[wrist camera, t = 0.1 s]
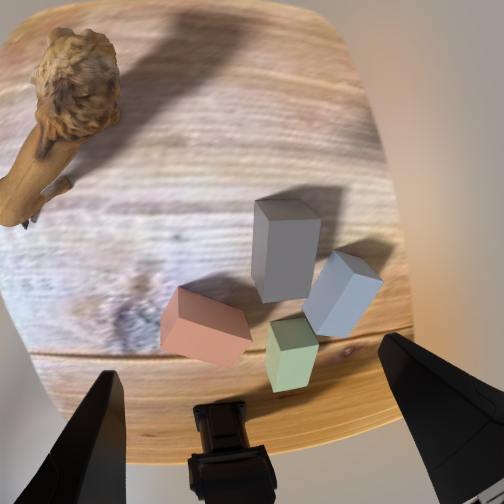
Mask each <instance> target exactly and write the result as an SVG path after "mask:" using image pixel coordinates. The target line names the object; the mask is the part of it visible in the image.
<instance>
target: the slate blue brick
mask: <svg viewBox="0 0 504 504" xmlns="http://www.w3.org/2000/svg"><path fill="white" fill-rule="evenodd" d="M383 283H384V281H383V280H382V279H381V278H380V277H379V276H378V275H377V273H376V272H375V271H374V270H373V269H372V268H371V267H370V266H369V265H368V264H367V263H366V262H365V261H364V260H363V259H362V258H359V257H355V256H352V255H349V254H346V253H343V252H340V251H337V250H333V251H332V253H331V254H330V256H329V258H328V260H327V262H326V264H325V265H324V267H323V269H322V271H321V273H320V275H319V276H318V278H317V280H316V282H315V284H314V285H313V287H312V289H311V291H310V294H309V298H306V299H305V301H304V303H303V305H302V306H301V308H302V310H303V311H304V313H305V315H306V317H307V319H308V321H309V323H310V324H311V326H312V328H313V330H314V332H315V334H316V335H323V336H333V337H342V338H347V337H348V335H349V334H350V333H351V331H352V330H353V328H354V327H355V325H356V324H357V323H358V321H359V320H360V318H361V317H362V315H363V314H364V312H365V311H366V309H367V308H368V306H369V305H370V303H371V302H372V300H373V299H374V297H375V295H376V294H377V292H378V291H379V289H380V287H381V286H382V284H383Z"/></svg>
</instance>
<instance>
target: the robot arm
mask: <svg viewBox="0 0 504 504" xmlns="http://www.w3.org/2000/svg"><path fill="white" fill-rule="evenodd" d="M378 356H379V359H380V362H381V364H382V367H383V370H384V372H385V375H386V378H387V381H388V384H389V386H390V389H391V391H392V393H393V395H394V398H395V400H396V402H397V404H398V406H399V408H400V410H401V412H402V415H403V417H404V419H405V421H406V423H407V425H408V427H409V430H410V432H411V434H412V437H413V439H414V441H415V444H416V446H417V448H418V450H419V453H420V455H421V457H422V460H423V462H424V465H425V467H426V469H427V472H428V473H429V474H428V475H429V477H430V480H431V482H432V484H433V487H434V489H435V492H436V495H437V497H438V500H439V503H440V504H463V503H464V502H466V501H468V500H470V499H472V498H473V497H475V496H477V498H476V499H475V500H474V501H473V502H471V503H470V504H504V392H503V391H501V390H498V389H496V388H494V387H492V386H490V385H488V384H486V383H484V382H482V381H481V380H479V379H477V378H475V377H473V376H472V375H469V374H468V373H466V372H465V371H463V370H461V369H459V368H458V367H456V366H454V365H452V364H451V363H449V362H447V361H445V360H444V359H442V358H440V357H438V356H437V355H435V354H433V353H431V352H430V351H428V350H426V349H424V348H423V347H421V346H419V345H417V344H416V343H414V342H412V341H410V340H409V339H407V338H405V337H403V336H402V335H400V334H398V333H396V332H392V333H388V334H386V335H385V336H384V337H383V340H382V342H381V344H380V347H379V349H378ZM193 413H194V417H195V422H196V426H197V431H198V432H200V435H201V441H202V448H203V453H202V454H196V453H194V454H192V457H191V458H189V459H187V460H188V466H189V482H190V489H191V490H192V491H193V492H195V493H196V495H197V496H198V499H199V501H202V500H205V504H274V502H275V499H276V495H275V492H274V490H276V489H277V480H276V476H275V472H274V469H273V466H272V464H271V461H270V459H269V456H268V454H267V452H266V449H265V447H264V445H259V446H256V447H250V444H249V440H248V436H247V432H246V429H245V413H246V404H245V402H235V403H227V404H218V405H209V406H198V407H194V408H193ZM14 504H126V423H125V407H124V390H123V386H122V383H121V381H120V379H119V376H118V374H117V372H116V371H115V370H104V371H102V372H101V374H100V375H99V377H98V378H97V380H96V381H95V382H94V384H93V385H92V387H91V388H90V390H89V391H88V393H87V394H86V396H85V397H84V399H83V400H82V402H81V403H80V405H79V406H78V408H77V409H76V411H75V413H74V414H73V416H72V417H71V419H70V420H69V422H68V423H67V425H66V426H65V428H64V430H63V431H62V433H61V434H60V436H59V438H58V439H57V441H56V442H55V444H54V446H53V447H52V449H51V451H50V453H49V454H48V455H47V457H46V459H45V460H44V462H43V463H42V465H41V467H40V468H39V470H38V471H37V473H36V474H35V476H34V477H33V478H32V480H31V481H30V483H29V484H28V485H27V487H26V488H25V489H24V490H23V492H22V493H21V494H20V496H19V497H18V498H17V500H16V501H15V502H14Z"/></svg>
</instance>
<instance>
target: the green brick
mask: <svg viewBox="0 0 504 504" xmlns="http://www.w3.org/2000/svg"><path fill="white" fill-rule="evenodd" d="M318 347H319V343H318V341H317V339H316V338H315V336H314V334H313V332H312V330H311V328H310V326H309V324H308V323H307V321H306V319H305V317H303V318H296V319H289V320H281V321H274V322H269V329H268V338H267V346H266V355H265V364H264V365H265V368H266V371H267V374H268V377H269V380H270V383H271V386H272V389H273V392H280V391H285V390H291V389H296V388H301V387H305V386H307V385H308V382H309V378H310V375H311V372H312V368H313V365H314V361H315V358H316V355H317V351H318Z"/></svg>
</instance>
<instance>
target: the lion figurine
mask: <svg viewBox="0 0 504 504" xmlns="http://www.w3.org/2000/svg"><path fill="white" fill-rule="evenodd" d="M47 41H48V48H47V50H46V52H45V54H44V56H43V59H42V60H41V62H40V64H39V65H38V66H36V67H35V68H34V69H33V71H32V74H31V76H30V78H29V80H28V81H29V83H31V84H34V85H35V92H36V95H37V98H38V103H37V111H36V112H35V118H36V120H37V123H38V124H37V125H36V126H35V127H34V129H33V130H32V131H31V133H30V134H29V135H28V137H27V139H26V140H25V142H24V144H23V146H22V147H21V149H20V151H19V154H18V156H17V158H16V160H15V162H14V165H13V166H12V168H11V170H10V172H9V173H8V174H7V176H5V177H3V178H2V179H0V225H3V226H6V227H12V226H16V225H18V224H20V223H21V224H22V226H23V227H24V229H26V230H27V227H28V224H29V220H28V219H29V218H31V217H32V216H33V215H34V214H35V213H36V212H38V210H39V209H40V208H41V207H42V206H43V205H44V204H45V203H46V202H48V201H49V200H51V199H52V198H53V197H55V196H57V195H60V194H63V193H66V192H67V191H68V190H69V189H70V182H69V181H68V180H67V179H66V178H64V177H61V178H59V179H58V180H57V181H56V182H55V183H54V184H53V185H52V187H50V188H49V189H48V190H46V191H44V192H42V193H40V192H41V191H42V190H43V189H44V188H45V187H46V186H47V185H49V184H50V183H51V182H52V181H53V180H54V179H55V178H56V177H57V176H58V175H59V174H60V173H61V172H62V171H63V169H64V168H65V167H66V166H67V165H68V164H69V163H70V161H71V160H72V159H73V157H74V156H75V155H76V153H77V151H78V150H79V148H80V146H81V144H83V143H86V142H87V141H89V140H90V139H92V138H93V137H95V135H96V134H98V133H100V132H101V131H103V130H104V129H105V128H106V127H107V126H109V125H113V124H115V123H117V122H118V121H119V120H120V114H121V113H120V111H119V109H118V108H116V106H117V104H116V101H115V100H116V99H117V97H119V95H120V88H119V85H120V81H119V78H118V77H119V69H118V67H117V64H116V63H117V60H116V57H115V56H116V52H115V49H114V47H113V44H111V43H109V39H108V38H107V37H106V36H105V34H100V33H96V32H93V31H92V30H91V29H85V30H84V31H83V32H81V33H80V34H79V35H76V34H74V32H73V30H72V29H69V28H60V27H58V28H55V29H53V30H52V31H50V32H49V34H48V36H47Z"/></svg>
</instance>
